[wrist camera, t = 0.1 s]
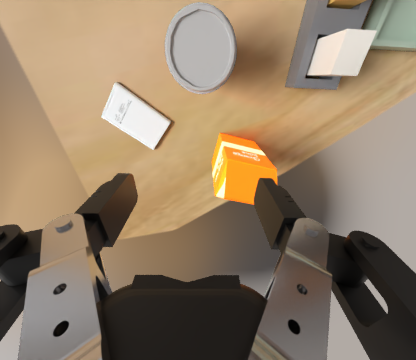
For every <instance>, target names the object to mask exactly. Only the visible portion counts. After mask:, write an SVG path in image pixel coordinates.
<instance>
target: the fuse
mask: <svg viewBox="0 0 416 360" xmlns="http://www.w3.org/2000/svg"><path fill="white" fill-rule="evenodd" d="M376 32H377V31H375V30H360V29H345V30H343V31H340V32H337V33H334V34H331V35H328V36H325V37H323V38H320V39H317V40H316V43H315V47H314V50H313V53H312V57H311V60H310V63H309V66H308V70H307V73H306V76H314V77H325V76H357V75H358V73H359V70H360V68H361V66H362V64H363V61H364V59H365V57H366V55H367V52H368V50H369V48H370V46H371V43H372V41H373V39H374V37H375V34H376Z"/></svg>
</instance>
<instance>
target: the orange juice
mask: <svg viewBox="0 0 416 360" xmlns="http://www.w3.org/2000/svg"><path fill="white" fill-rule="evenodd" d="M212 170H213V181H214V192H215V196H217V197H220V198H223V199H228V200H233V201H238V202H243V203H249V204H254V195H255V191H256V187H257V183H258V180H259V178H272V179H273V180H274V181H275V183H276V184H277V169H276V168H275V167H274V166H273V164H272V163H271V162H270V161H269V159H268V158H267V157H266V155H265V154H264V153H263V151H261V149H260V148H259V147H258V146H257V144H256V143H255V142H254V141H250V140H246V139H242V138H238V137H234V136H230V135H226V134H222V133H220V134H219V138H218V141H217V145H216V148H215V152H214V155H213V159H212Z"/></svg>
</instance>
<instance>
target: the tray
mask: <svg viewBox="0 0 416 360" xmlns="http://www.w3.org/2000/svg"><path fill="white" fill-rule="evenodd" d="M362 30H375V31H377V32H376V34H375V37H374V39H373V41H372V43H371V46H370V48H369V49H378V50H395V51H411V52H415V51H416V0H374V2H373V4H372V7H371V9H370V12H369V14H368V17H367V19H366V21H365V24H364V26H363V29H362Z"/></svg>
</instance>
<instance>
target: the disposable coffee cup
mask: <svg viewBox="0 0 416 360" xmlns="http://www.w3.org/2000/svg"><path fill="white" fill-rule="evenodd" d="M165 56H166V61H167V65H168V67H169V70H170V72H171V74H172V75H173V77H174V79H175V80H176V81H177V82H178V83H179V84H180V85H181V86H182V87H183V88H185V89H186V90H188V91H190V92H193V93H197V94H206V93H210V92H213V91H215V90H217V89H219V88H220V87H221V86H222V85H223V84H224V83H225V82H226V81H227V80H228V78H229V77H230V75H231V73H232V71H233V68H234V66H235V61H236V56H237V43H236V37H235V33H234V30H233V27H232V25H231V23H230V22H229V20H228V18H227V17H226V16H225V15H224V13H223V12H222V11H220V10H219V9H218V8H216V7H215V6H213V5H210V4H207V3H200V2H198V3H192V4H190V5H187V6H185V7H184V8H182V9H181V10H180V11H179V12H178V13H177V14H176V15H175V16H174V18H173V19H172V21H171V23H170V25H169V27H168V30H167V34H166V39H165Z"/></svg>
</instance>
